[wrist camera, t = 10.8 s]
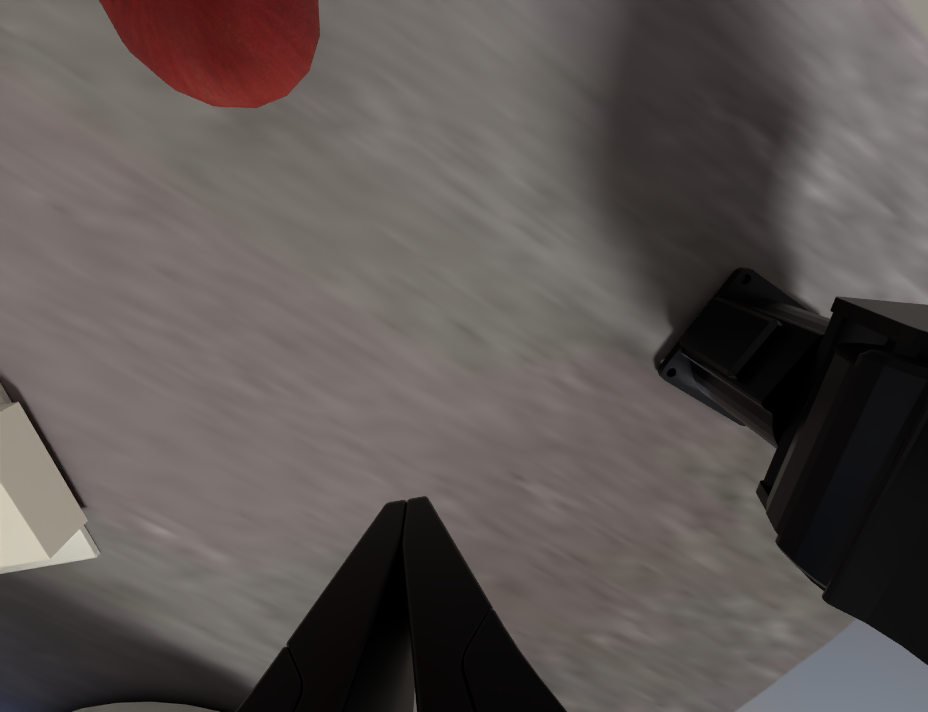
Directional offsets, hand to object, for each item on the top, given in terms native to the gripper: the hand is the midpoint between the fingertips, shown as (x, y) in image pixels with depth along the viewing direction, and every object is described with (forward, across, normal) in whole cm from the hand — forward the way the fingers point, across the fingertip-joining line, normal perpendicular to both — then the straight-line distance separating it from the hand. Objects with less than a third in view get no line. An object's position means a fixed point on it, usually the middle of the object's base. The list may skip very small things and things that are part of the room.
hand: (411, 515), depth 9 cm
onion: (+13, +4, -12) cm, 18 cm away
